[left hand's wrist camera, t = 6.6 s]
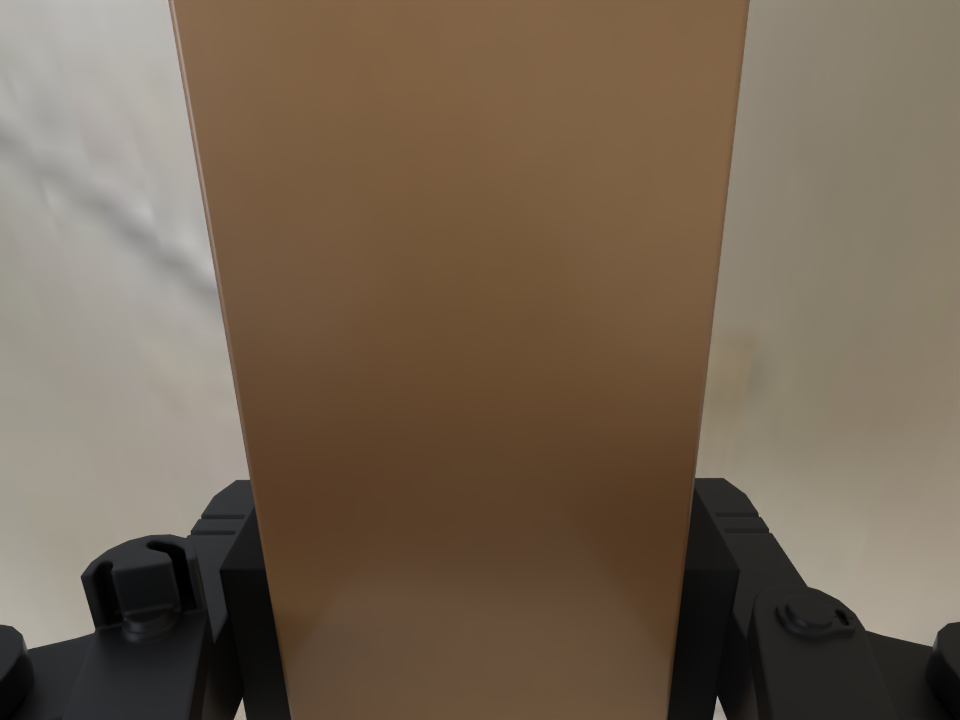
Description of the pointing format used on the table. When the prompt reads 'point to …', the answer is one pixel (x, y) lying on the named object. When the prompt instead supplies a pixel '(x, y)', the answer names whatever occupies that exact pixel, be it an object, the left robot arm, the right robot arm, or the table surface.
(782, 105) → the table surface
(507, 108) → the beam
